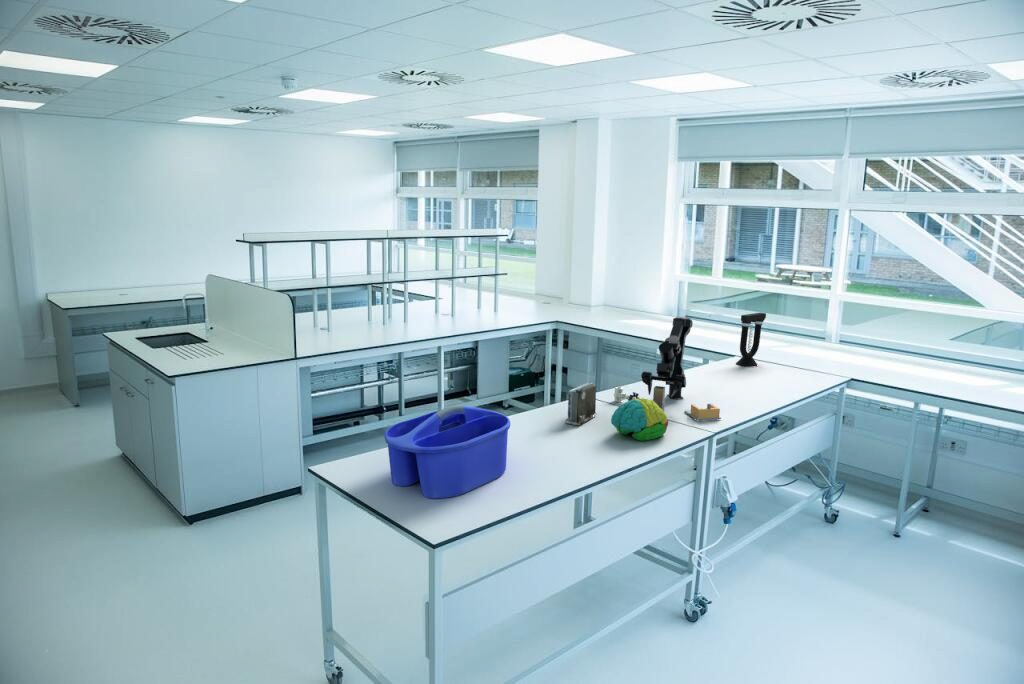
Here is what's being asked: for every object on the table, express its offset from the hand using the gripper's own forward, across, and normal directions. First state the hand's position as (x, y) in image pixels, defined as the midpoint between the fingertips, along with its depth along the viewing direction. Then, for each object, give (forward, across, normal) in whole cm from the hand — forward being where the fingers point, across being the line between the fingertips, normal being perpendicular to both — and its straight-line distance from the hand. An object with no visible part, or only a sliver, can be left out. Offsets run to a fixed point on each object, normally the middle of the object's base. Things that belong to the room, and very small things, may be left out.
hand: (659, 395), depth 277 cm
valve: (-2, -18, +15) cm, 24 cm away
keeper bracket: (0, +17, +12) cm, 21 cm away
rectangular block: (+7, 0, +6) cm, 9 cm away
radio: (+20, -29, -6) cm, 36 cm away
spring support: (-82, +24, +94) cm, 127 cm away
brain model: (+27, -1, -14) cm, 31 cm away
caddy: (+75, -47, -61) cm, 107 cm away
